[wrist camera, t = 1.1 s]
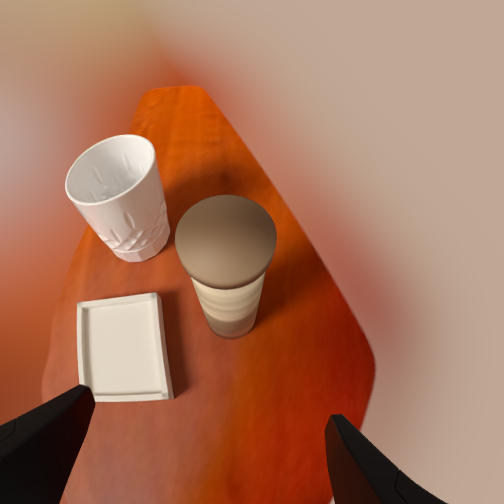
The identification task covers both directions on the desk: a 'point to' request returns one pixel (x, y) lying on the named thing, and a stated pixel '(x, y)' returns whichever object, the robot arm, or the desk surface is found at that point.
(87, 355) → the tray
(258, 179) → the desk surface
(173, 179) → the desk surface
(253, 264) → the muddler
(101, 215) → the white cup
